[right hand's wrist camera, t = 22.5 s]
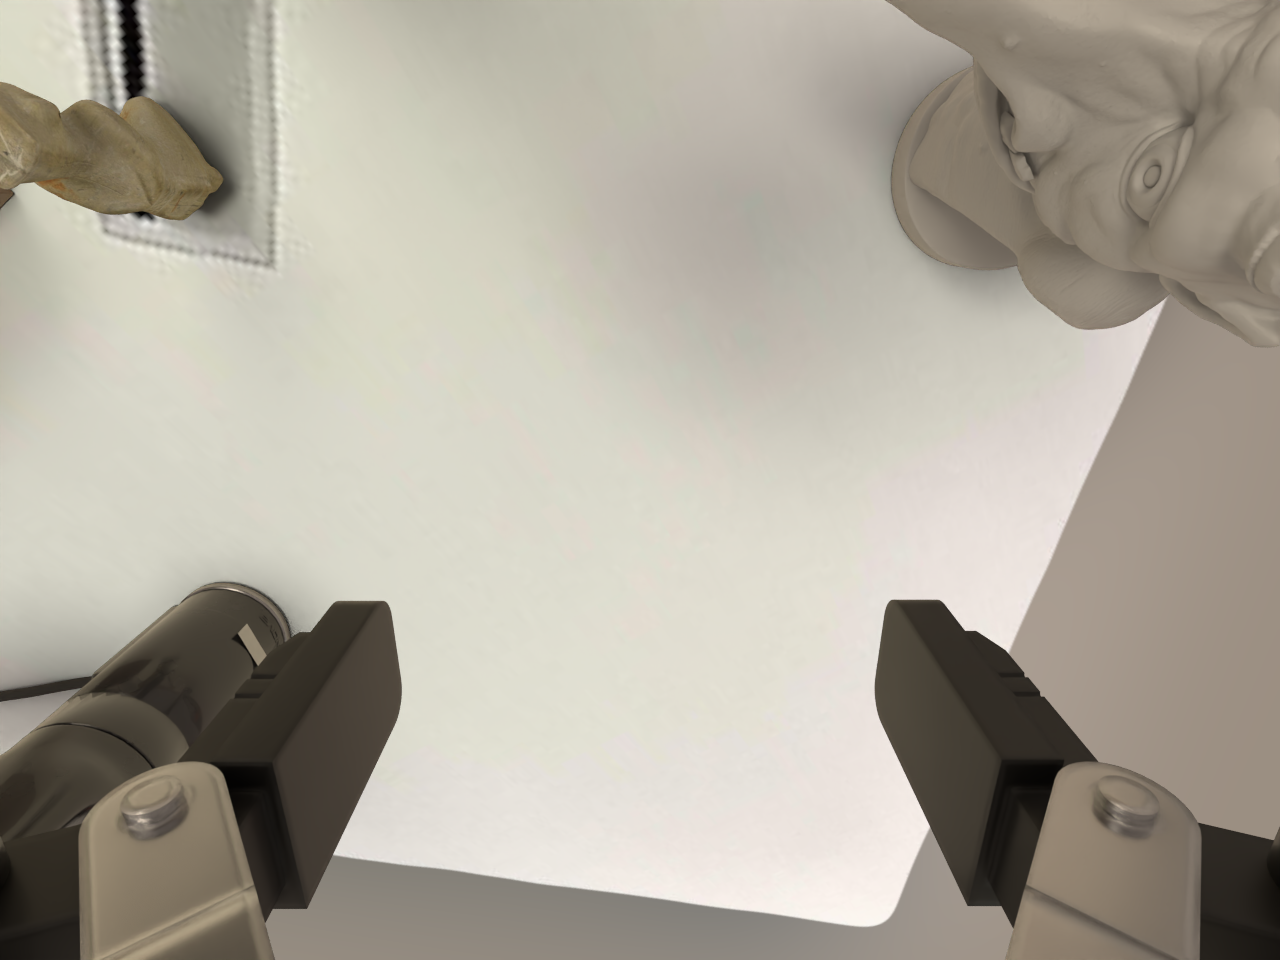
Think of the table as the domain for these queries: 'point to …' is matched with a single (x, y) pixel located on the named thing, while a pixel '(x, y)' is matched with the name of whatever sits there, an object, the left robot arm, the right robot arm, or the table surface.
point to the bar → (4, 195)
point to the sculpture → (103, 155)
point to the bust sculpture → (1105, 155)
